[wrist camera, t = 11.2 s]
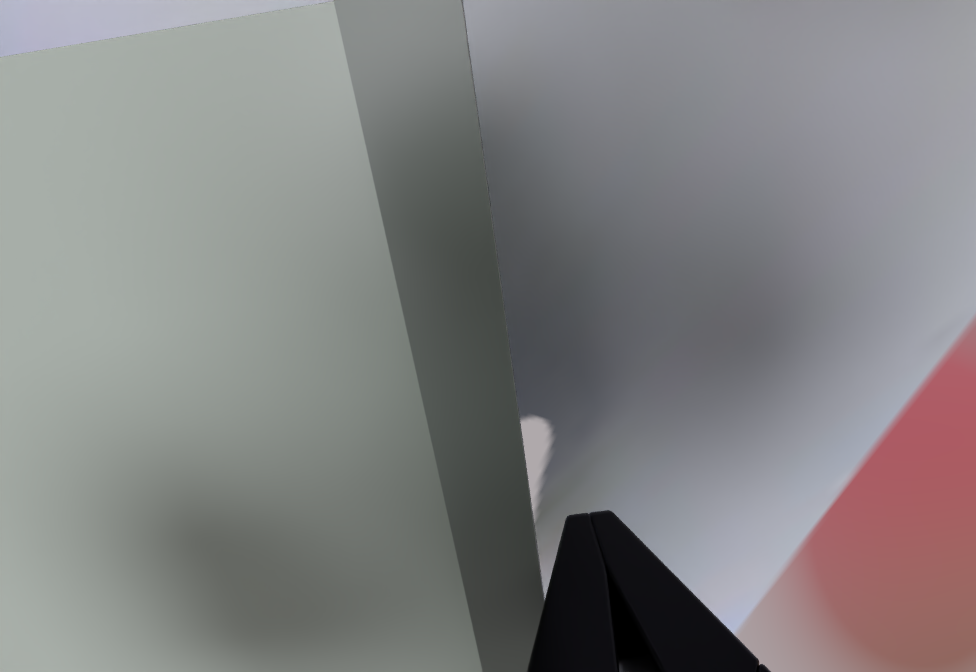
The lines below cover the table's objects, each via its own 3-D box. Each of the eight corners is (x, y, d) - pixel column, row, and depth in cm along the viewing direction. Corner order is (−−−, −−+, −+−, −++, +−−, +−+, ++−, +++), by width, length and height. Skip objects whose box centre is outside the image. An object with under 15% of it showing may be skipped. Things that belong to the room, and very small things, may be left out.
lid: (461, -9, 7) (451, -69, 5) (565, 753, 13) (581, 869, 11) (-433, 142, 7) (-798, 147, 5) (93, 799, 14) (26, 916, 12)
